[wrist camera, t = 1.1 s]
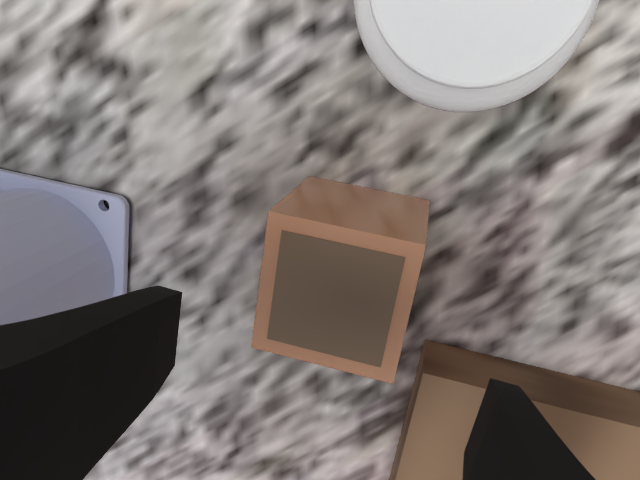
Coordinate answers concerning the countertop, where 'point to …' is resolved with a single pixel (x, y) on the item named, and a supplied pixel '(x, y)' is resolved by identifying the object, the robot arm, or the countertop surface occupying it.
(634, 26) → the countertop surface
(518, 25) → the supplement bottle
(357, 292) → the terracotta pot
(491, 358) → the walnut block
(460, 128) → the countertop surface
